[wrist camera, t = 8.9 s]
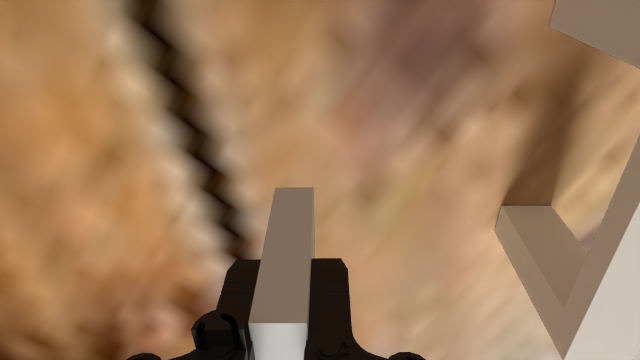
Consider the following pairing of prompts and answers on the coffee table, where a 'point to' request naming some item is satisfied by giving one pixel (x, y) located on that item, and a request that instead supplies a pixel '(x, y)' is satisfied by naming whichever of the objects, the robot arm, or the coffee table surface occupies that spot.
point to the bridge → (613, 234)
